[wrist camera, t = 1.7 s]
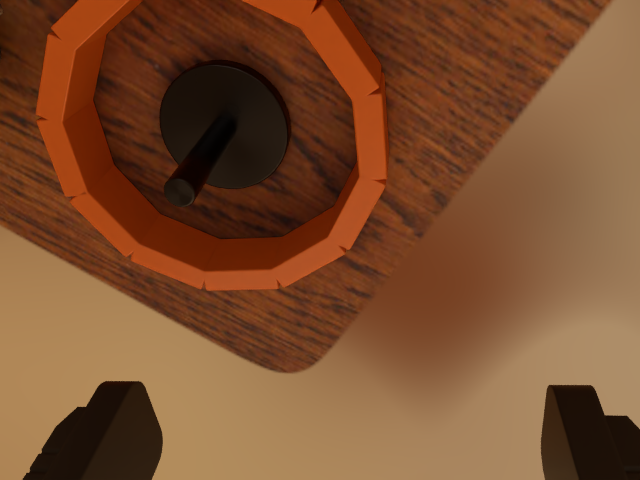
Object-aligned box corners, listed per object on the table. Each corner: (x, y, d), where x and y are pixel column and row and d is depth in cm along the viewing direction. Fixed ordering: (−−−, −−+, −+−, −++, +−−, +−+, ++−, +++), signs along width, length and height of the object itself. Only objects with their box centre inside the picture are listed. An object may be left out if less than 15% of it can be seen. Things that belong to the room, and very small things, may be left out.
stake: (181, 185, 29) (126, 263, 23) (150, 65, 26) (76, 121, 20) (299, 178, 28) (271, 259, 22) (280, 53, 25) (242, 108, 19)
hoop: (125, 260, 32) (102, 293, 30) (24, -31, 25) (-19, -20, 22) (395, 252, 30) (394, 286, 27) (375, -75, 22) (371, -68, 20)
